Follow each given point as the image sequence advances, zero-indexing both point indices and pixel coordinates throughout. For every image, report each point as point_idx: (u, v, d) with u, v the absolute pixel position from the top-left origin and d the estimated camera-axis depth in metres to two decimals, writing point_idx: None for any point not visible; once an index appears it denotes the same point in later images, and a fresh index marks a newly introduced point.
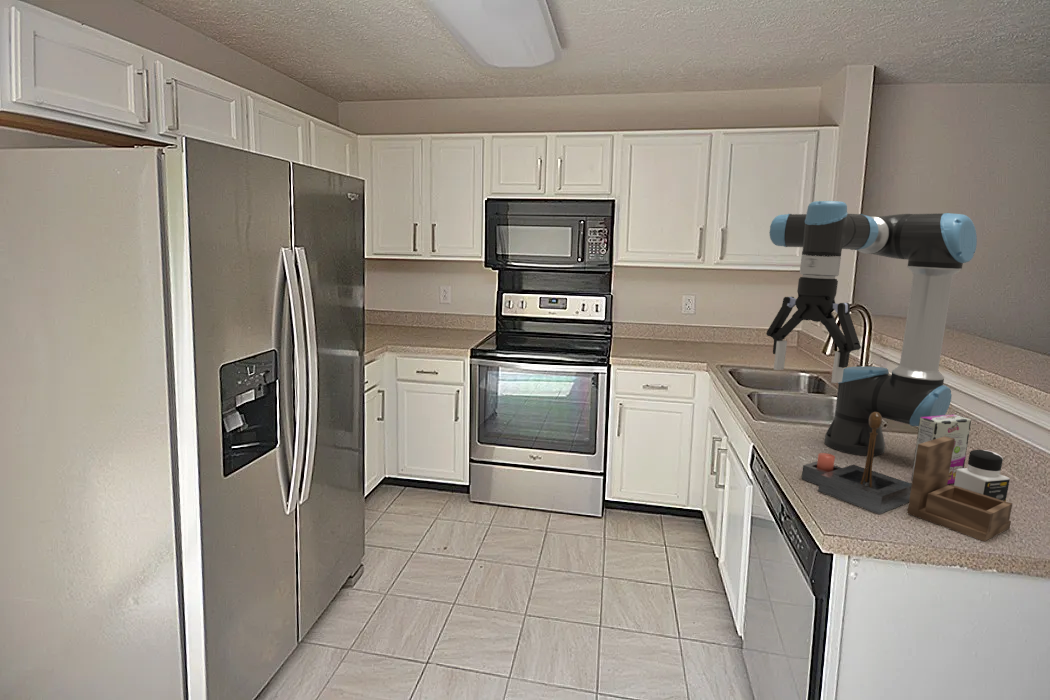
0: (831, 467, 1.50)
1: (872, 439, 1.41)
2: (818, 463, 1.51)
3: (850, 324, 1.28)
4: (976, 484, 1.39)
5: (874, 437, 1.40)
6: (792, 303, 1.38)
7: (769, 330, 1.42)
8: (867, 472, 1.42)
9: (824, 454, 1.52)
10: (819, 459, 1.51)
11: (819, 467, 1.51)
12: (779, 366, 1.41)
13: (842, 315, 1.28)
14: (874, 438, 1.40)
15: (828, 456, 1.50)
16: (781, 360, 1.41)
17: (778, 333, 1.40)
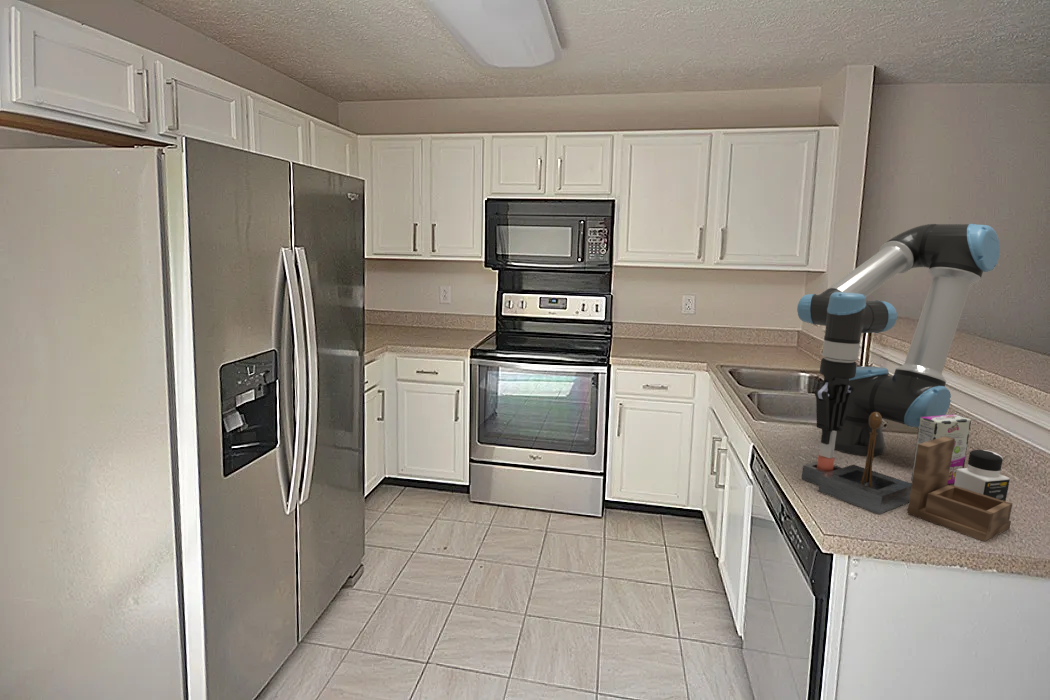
0: (831, 469, 1.50)
1: (872, 439, 1.41)
2: (818, 465, 1.51)
3: (821, 409, 1.46)
4: (976, 484, 1.39)
5: (874, 437, 1.40)
6: None
7: None
8: (867, 472, 1.42)
9: None
10: (819, 461, 1.51)
11: None
12: None
13: None
14: (874, 438, 1.40)
15: (828, 458, 1.50)
16: None
17: None
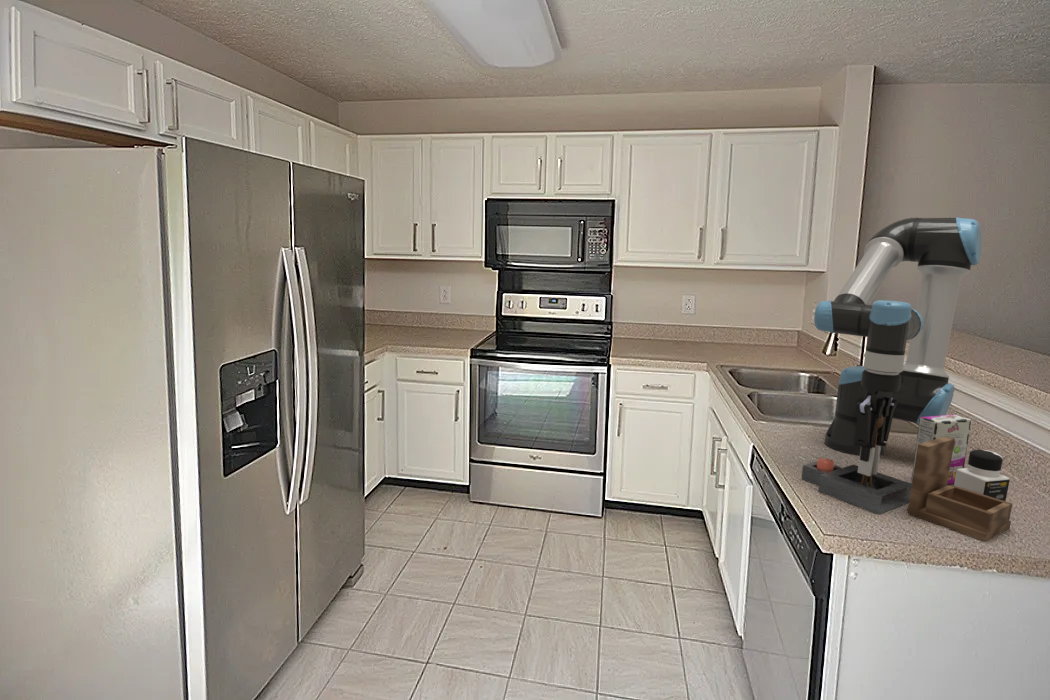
0: None
1: None
2: None
3: (862, 423, 1.38)
4: (976, 484, 1.39)
5: (875, 436, 1.41)
6: None
7: None
8: None
9: (824, 459, 1.52)
10: (818, 464, 1.51)
11: None
12: None
13: None
14: (875, 437, 1.41)
15: (827, 461, 1.51)
16: None
17: None
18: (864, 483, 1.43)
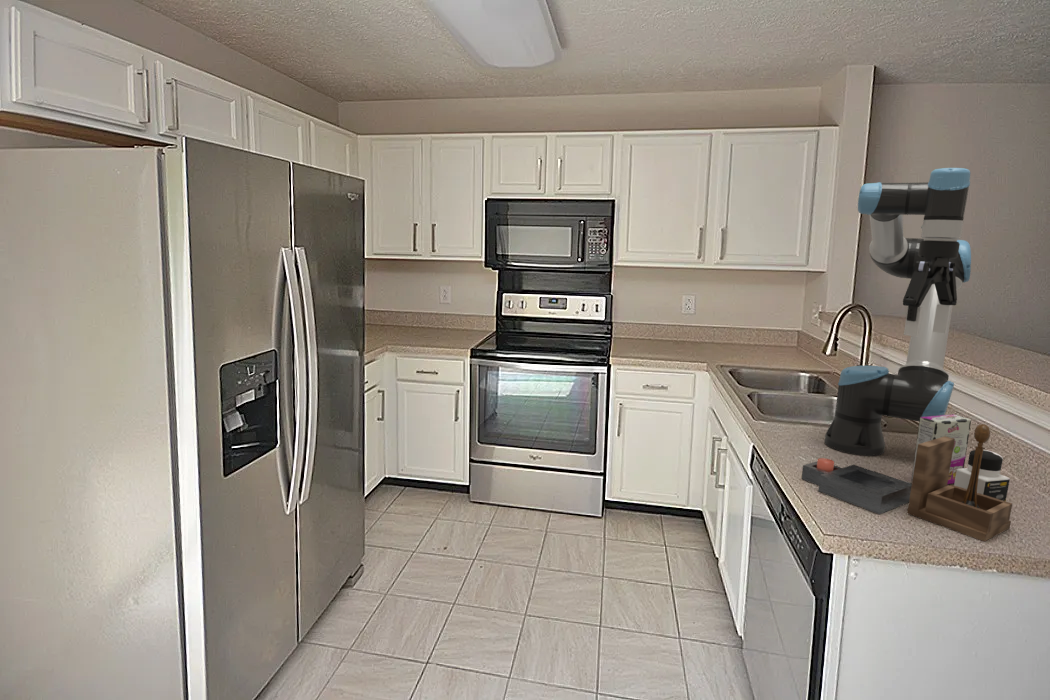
0: None
1: (978, 454, 1.28)
2: None
3: (916, 280, 1.38)
4: None
5: (981, 452, 1.28)
6: None
7: None
8: (971, 490, 1.30)
9: (824, 459, 1.52)
10: (818, 464, 1.51)
11: None
12: (938, 329, 1.48)
13: None
14: (981, 453, 1.28)
15: (827, 461, 1.51)
16: (940, 323, 1.48)
17: None
18: (967, 502, 1.30)
